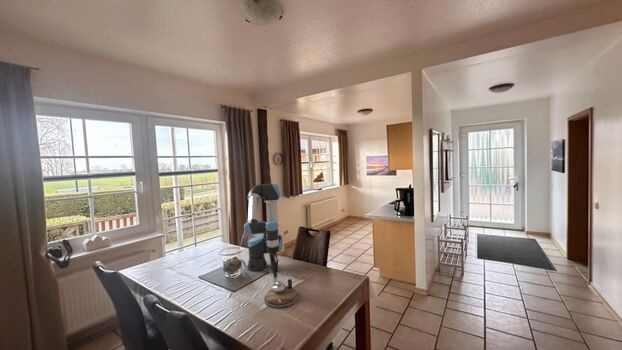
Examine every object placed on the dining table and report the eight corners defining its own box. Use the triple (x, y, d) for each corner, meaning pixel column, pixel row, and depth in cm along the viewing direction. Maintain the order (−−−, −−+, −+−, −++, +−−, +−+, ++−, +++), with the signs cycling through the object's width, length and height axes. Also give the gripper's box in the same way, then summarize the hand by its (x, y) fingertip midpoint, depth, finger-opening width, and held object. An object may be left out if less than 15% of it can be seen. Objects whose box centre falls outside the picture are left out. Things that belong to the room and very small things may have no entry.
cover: (271, 289, 154) (270, 281, 153) (283, 285, 157) (283, 278, 157) (274, 295, 146) (273, 286, 146) (287, 291, 150) (286, 283, 149)
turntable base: (261, 294, 153) (261, 292, 153) (292, 286, 161) (291, 285, 161) (268, 312, 135) (268, 309, 134) (303, 302, 142) (303, 300, 142)
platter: (263, 292, 152) (262, 282, 152) (290, 285, 159) (290, 276, 159) (270, 308, 136) (269, 296, 135) (300, 299, 143) (300, 288, 142)
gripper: (264, 243, 163) (267, 278, 165) (269, 249, 151) (271, 287, 153) (276, 241, 166) (278, 276, 167) (281, 247, 154) (283, 284, 155)
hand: (275, 281), depth 160 cm, fingers closed
